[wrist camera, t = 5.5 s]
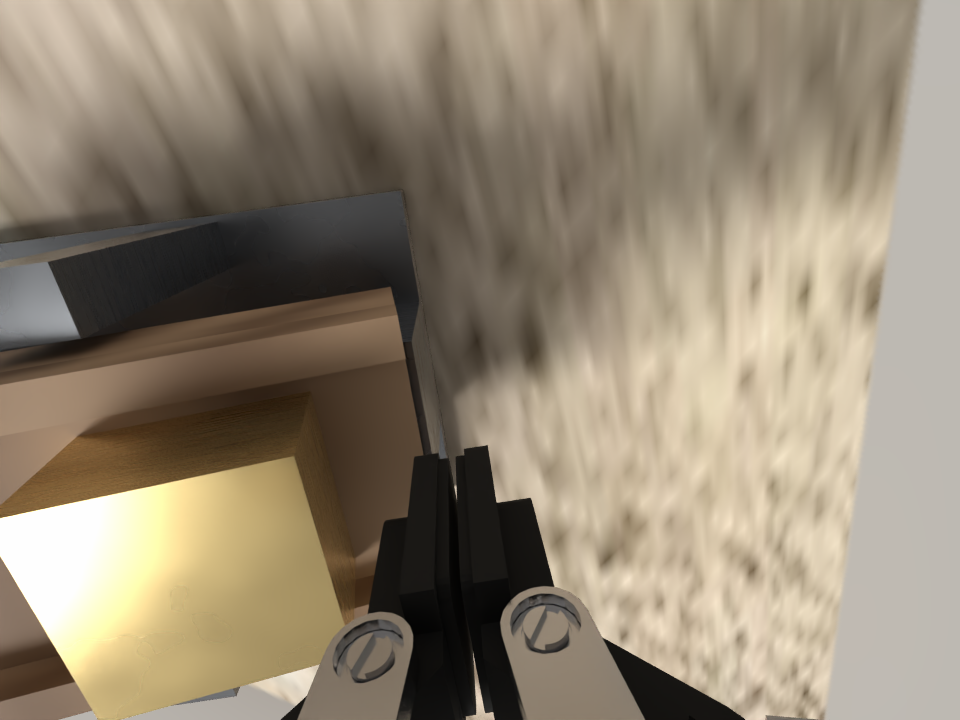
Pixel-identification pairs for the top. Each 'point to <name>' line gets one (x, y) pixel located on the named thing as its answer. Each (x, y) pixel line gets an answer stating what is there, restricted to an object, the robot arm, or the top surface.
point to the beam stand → (221, 280)
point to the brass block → (185, 554)
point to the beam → (199, 388)
